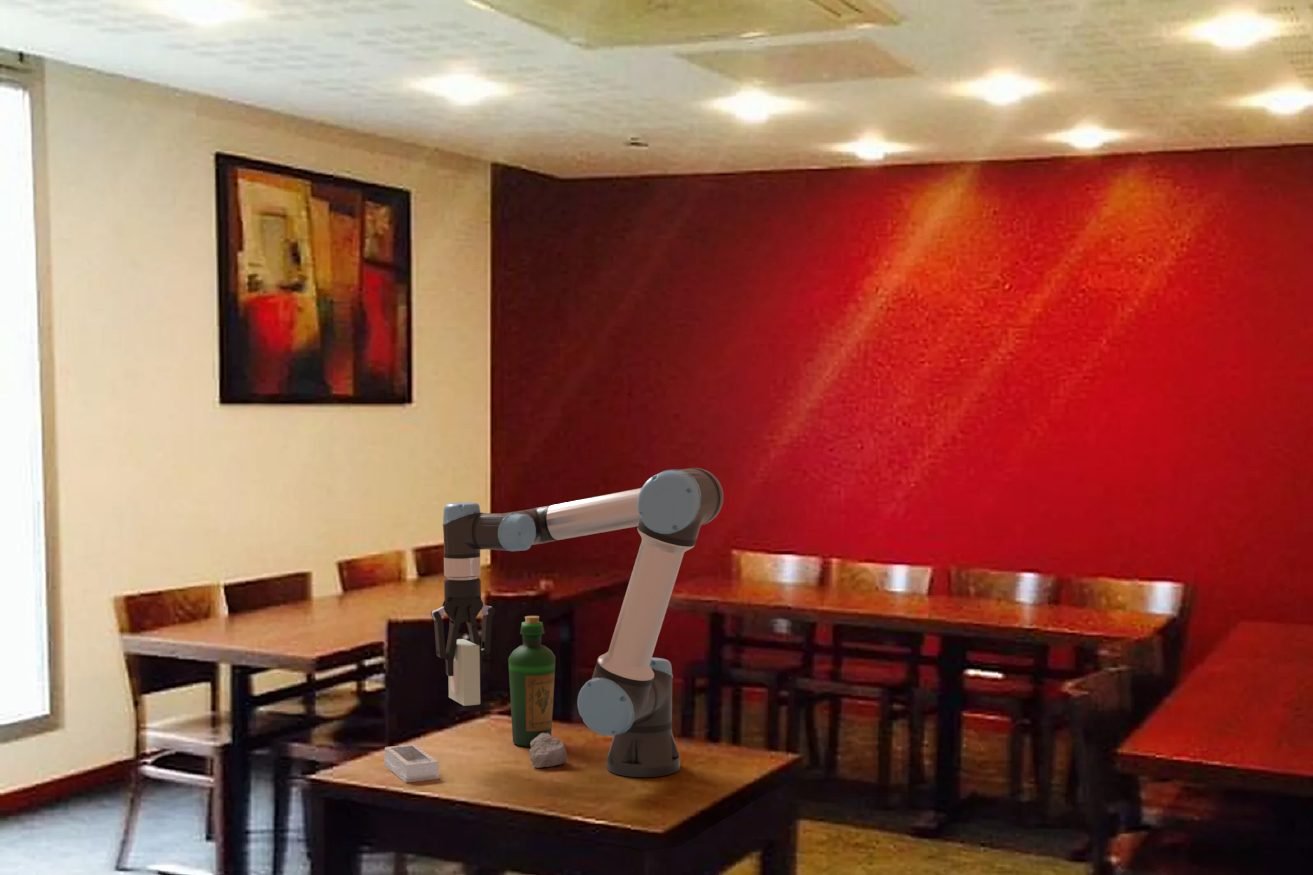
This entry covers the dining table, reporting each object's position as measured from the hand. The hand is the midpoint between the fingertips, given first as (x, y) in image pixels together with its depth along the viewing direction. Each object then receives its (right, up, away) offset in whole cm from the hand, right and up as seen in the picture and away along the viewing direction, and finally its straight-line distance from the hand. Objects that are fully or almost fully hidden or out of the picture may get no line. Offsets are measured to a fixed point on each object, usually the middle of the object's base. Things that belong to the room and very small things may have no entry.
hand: (464, 690), depth 307 cm
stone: (+17, -16, +3) cm, 23 cm away
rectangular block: (0, -2, 0) cm, 2 cm away
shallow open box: (-10, -16, -4) cm, 19 cm away
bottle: (+12, -15, +20) cm, 28 cm away
